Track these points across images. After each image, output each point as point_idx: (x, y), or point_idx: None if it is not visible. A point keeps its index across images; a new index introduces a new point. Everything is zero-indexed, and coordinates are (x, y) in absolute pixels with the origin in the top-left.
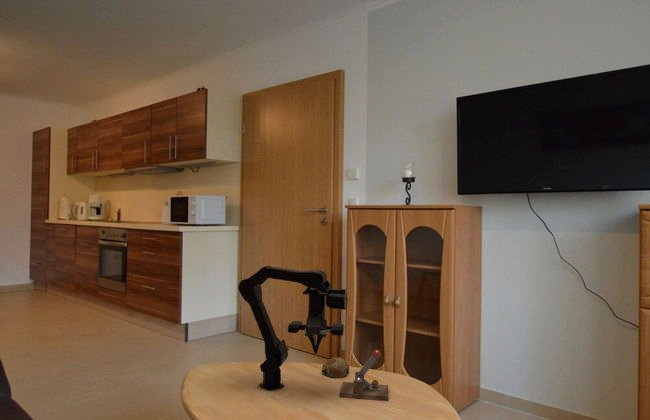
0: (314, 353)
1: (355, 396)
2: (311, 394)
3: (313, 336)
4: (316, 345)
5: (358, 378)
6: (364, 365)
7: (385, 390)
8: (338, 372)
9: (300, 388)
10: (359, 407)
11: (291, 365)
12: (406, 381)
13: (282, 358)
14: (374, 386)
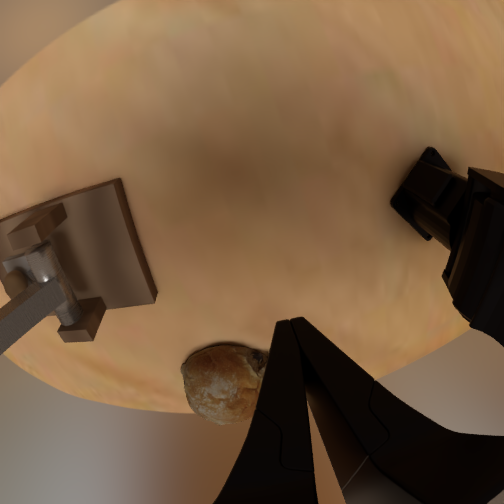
0: (302, 317)
1: (58, 198)
2: (255, 159)
3: (401, 502)
4: (299, 391)
5: (35, 267)
6: (3, 327)
7: (4, 276)
8: (203, 362)
9: (323, 209)
10: (27, 124)
11: (377, 366)
12: (33, 364)
13: (493, 216)
14: (14, 270)
